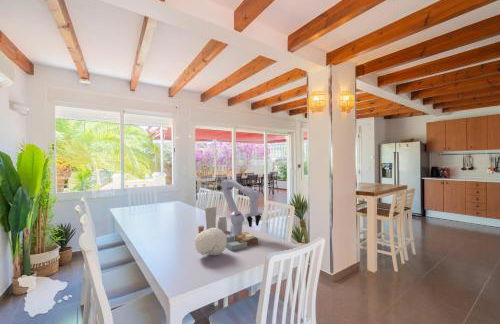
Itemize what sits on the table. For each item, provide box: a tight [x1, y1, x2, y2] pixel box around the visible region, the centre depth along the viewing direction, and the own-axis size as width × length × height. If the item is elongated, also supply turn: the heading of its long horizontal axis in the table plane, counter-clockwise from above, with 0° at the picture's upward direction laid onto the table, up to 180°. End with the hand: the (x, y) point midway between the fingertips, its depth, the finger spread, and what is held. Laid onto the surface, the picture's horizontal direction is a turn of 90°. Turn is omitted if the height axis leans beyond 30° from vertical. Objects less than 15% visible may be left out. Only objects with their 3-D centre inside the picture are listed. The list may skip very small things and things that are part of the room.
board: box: [235, 234, 259, 247], centre depth 167 cm, size 14×10×4 cm
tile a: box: [241, 231, 251, 237], centre depth 169 cm, size 4×4×2 cm
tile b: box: [245, 233, 255, 239], centre depth 164 cm, size 4×4×2 cm
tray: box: [225, 236, 248, 252], centre depth 160 cm, size 16×12×4 cm
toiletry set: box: [197, 206, 228, 235], centre depth 187 cm, size 25×8×21 cm, turn 129°
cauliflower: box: [194, 227, 227, 256], centre depth 142 cm, size 20×18×16 cm
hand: (253, 226), depth 173 cm, fingers open, 5 cm apart
